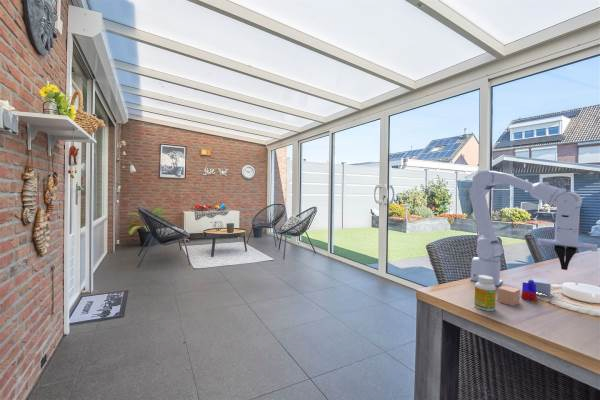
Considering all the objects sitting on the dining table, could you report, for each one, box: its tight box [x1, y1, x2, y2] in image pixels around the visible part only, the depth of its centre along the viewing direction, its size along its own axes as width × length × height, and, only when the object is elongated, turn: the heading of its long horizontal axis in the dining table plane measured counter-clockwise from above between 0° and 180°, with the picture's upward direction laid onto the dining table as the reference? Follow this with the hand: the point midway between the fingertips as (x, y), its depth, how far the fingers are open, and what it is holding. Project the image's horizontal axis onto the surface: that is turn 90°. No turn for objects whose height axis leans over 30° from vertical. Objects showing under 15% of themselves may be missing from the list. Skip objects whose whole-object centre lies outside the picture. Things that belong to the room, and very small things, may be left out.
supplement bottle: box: [473, 275, 497, 312], centre depth 88 cm, size 5×5×10 cm
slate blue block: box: [531, 277, 552, 297], centre depth 101 cm, size 4×4×4 cm
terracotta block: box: [496, 285, 521, 307], centre depth 93 cm, size 4×4×4 cm
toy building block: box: [521, 279, 537, 302], centre depth 96 cm, size 4×4×8 cm
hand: (564, 269), depth 95 cm, fingers closed
